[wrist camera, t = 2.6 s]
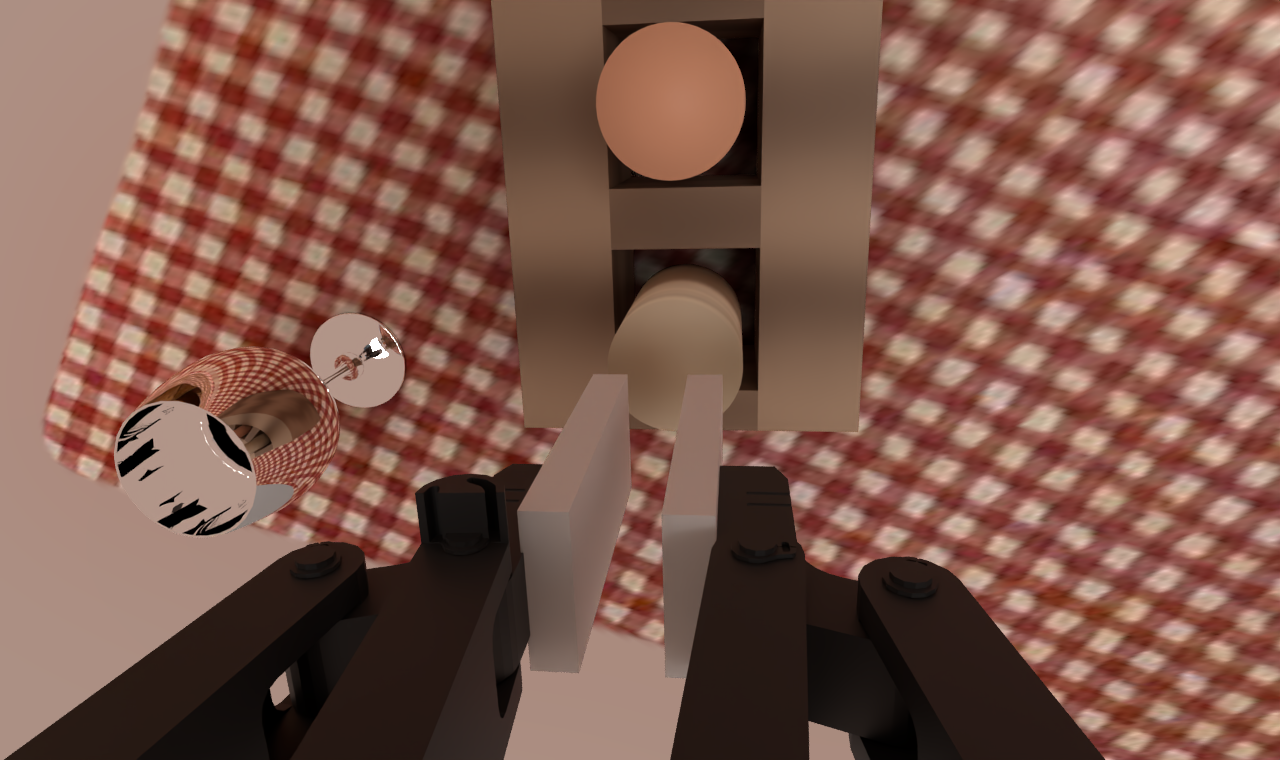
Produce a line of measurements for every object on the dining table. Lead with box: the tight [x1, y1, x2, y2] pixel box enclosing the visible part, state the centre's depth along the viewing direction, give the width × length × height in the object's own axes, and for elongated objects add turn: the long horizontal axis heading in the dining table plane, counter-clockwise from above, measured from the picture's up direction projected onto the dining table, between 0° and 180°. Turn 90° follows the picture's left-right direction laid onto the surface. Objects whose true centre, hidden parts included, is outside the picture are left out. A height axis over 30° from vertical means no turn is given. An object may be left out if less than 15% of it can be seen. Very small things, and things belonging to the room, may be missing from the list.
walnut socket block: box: [491, 0, 883, 432], centre depth 28 cm, size 22×12×6 cm, turn 2°
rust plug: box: [596, 22, 746, 181], centre depth 23 cm, size 4×4×6 cm
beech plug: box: [608, 264, 743, 431], centre depth 25 cm, size 4×4×6 cm
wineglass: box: [114, 313, 405, 538], centre depth 30 cm, size 6×6×12 cm
